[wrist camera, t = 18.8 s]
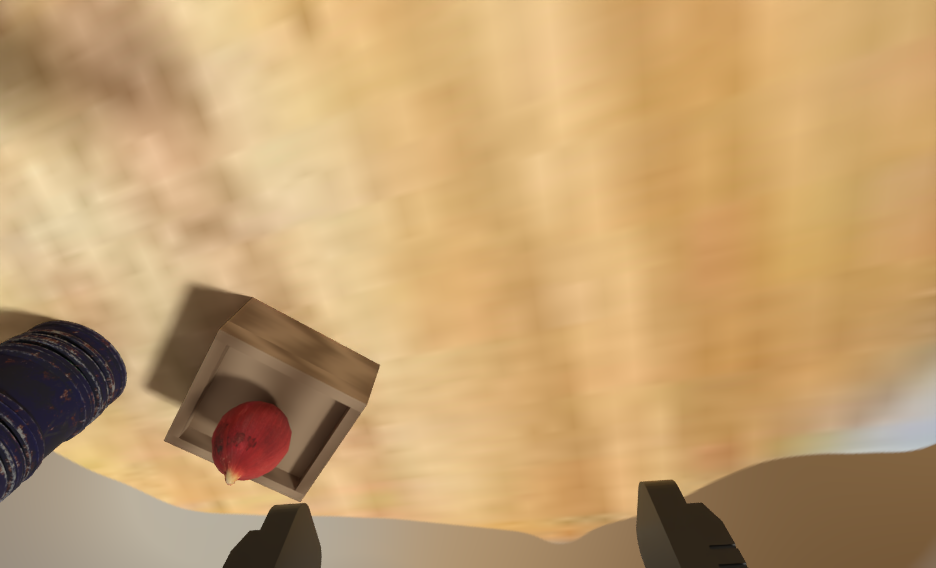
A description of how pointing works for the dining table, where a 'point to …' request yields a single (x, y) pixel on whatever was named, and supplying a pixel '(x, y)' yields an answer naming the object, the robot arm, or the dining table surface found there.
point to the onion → (250, 441)
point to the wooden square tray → (277, 391)
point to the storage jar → (51, 393)
